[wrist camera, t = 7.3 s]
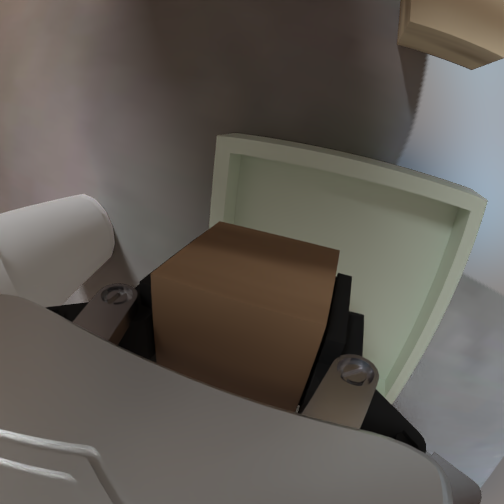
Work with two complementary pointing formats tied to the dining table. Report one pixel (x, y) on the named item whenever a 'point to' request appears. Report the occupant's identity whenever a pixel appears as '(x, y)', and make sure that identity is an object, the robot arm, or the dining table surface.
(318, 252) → the walnut block
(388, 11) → the dining table surface
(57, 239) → the foam cup
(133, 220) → the dining table surface
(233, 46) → the dining table surface
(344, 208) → the tray
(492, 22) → the maple block
